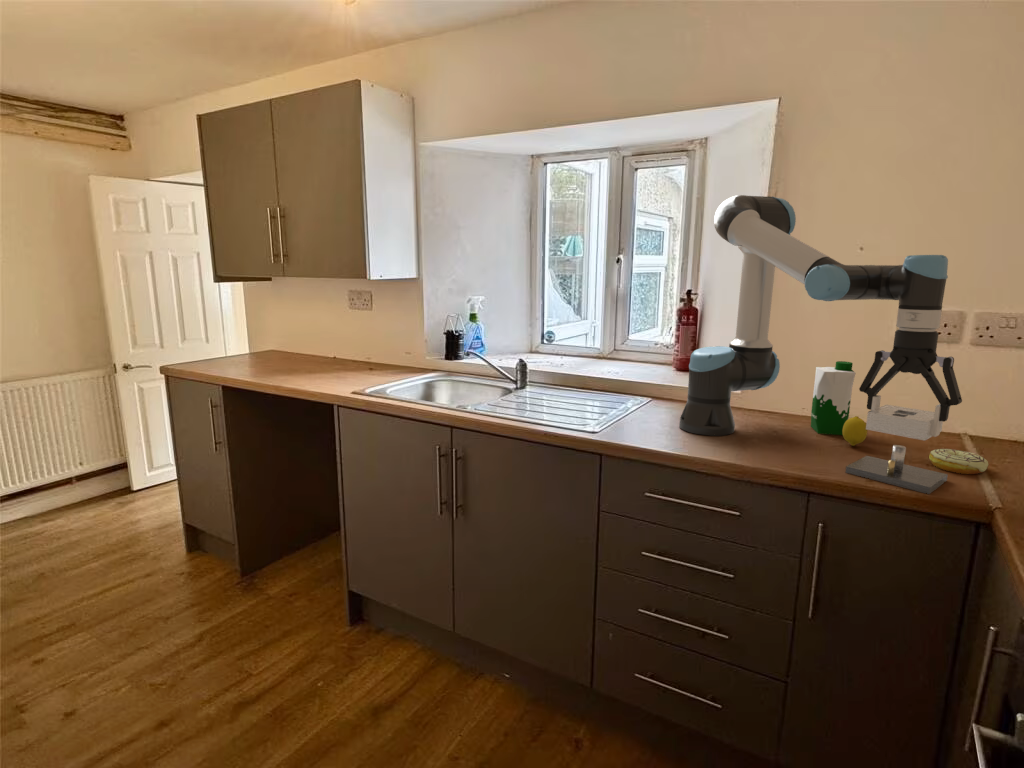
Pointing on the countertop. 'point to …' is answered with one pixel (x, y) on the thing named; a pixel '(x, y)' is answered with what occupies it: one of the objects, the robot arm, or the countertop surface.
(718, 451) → the countertop surface
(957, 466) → the decorated donut
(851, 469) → the fixture
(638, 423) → the countertop surface
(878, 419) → the white boxy piece
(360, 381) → the countertop surface
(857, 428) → the lemon
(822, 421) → the milk carton
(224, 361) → the countertop surface
